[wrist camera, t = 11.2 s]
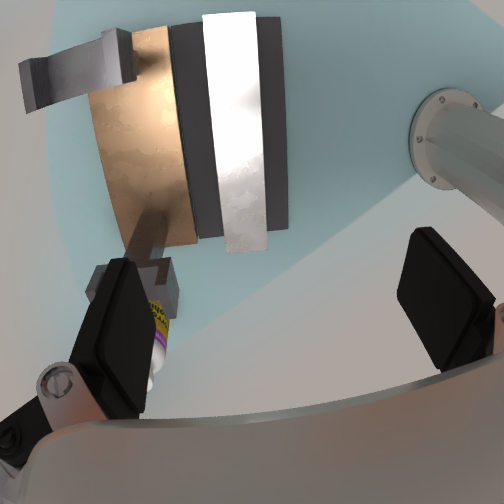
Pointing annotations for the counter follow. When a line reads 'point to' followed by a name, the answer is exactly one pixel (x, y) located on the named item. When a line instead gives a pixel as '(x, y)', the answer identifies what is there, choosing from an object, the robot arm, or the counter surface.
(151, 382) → the supplement bottle
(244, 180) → the rail
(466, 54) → the counter surface
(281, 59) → the mat
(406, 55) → the counter surface
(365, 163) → the counter surface
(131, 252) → the rail stand
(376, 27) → the counter surface
